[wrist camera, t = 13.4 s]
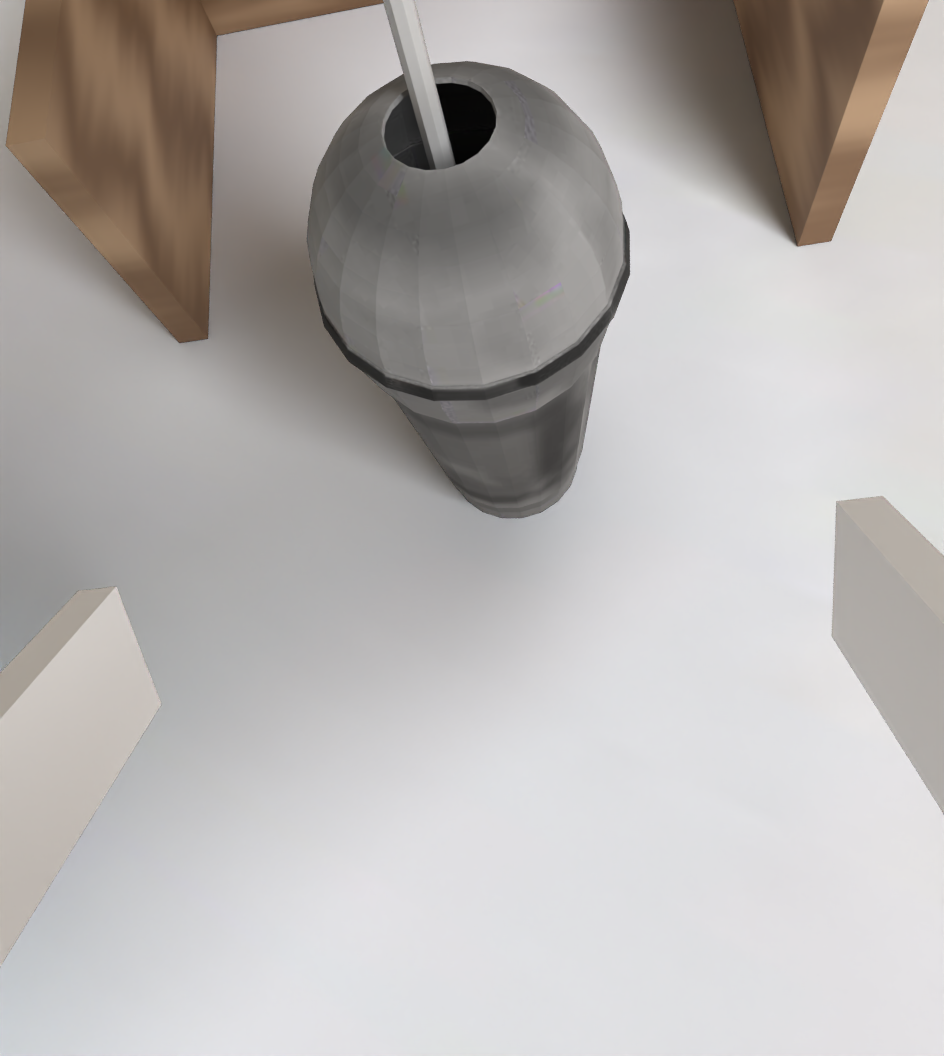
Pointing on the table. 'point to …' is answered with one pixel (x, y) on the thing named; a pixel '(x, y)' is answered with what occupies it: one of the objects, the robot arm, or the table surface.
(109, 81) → the open-sided wooden shelf
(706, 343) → the table surface
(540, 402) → the beverage cup
